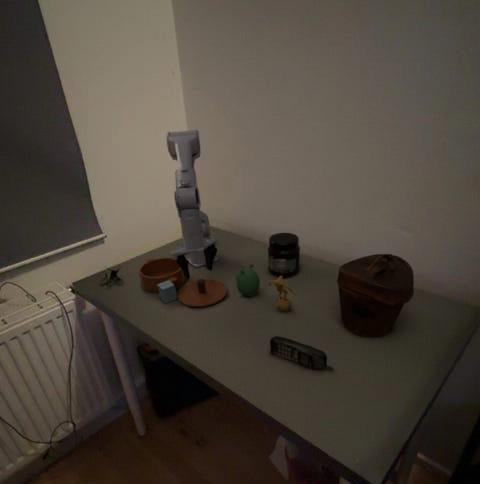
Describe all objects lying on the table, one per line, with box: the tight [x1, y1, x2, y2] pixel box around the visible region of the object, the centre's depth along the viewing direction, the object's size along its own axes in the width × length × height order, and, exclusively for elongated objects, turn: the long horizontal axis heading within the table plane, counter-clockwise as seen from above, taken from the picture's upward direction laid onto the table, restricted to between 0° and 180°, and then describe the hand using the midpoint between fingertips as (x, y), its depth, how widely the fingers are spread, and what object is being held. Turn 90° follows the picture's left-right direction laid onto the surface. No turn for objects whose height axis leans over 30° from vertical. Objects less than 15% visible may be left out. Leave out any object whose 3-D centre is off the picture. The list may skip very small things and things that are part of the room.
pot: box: [138, 256, 186, 294], centre depth 116 cm, size 14×20×6 cm
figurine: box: [268, 276, 296, 312], centre depth 95 cm, size 8×6×12 cm
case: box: [336, 253, 415, 338], centre depth 87 cm, size 18×20×18 cm
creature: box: [100, 265, 124, 287], centre depth 118 cm, size 8×5×8 cm
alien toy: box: [235, 263, 261, 297], centre depth 105 cm, size 7×8×10 cm
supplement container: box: [267, 232, 301, 278], centre depth 115 cm, size 10×10×12 cm
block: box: [157, 280, 178, 304], centre depth 107 cm, size 4×4×5 cm
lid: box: [177, 278, 228, 308], centre depth 108 cm, size 15×15×5 cm
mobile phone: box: [269, 335, 334, 371], centre depth 80 cm, size 5×3×15 cm
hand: (198, 273), depth 105 cm, fingers open, 7 cm apart
